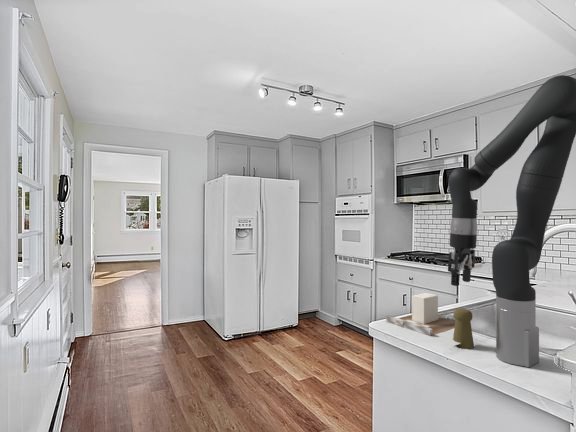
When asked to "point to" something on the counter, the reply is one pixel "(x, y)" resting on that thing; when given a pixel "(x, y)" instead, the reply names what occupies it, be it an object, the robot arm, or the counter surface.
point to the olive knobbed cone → (463, 329)
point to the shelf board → (423, 325)
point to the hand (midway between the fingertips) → (460, 283)
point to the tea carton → (424, 308)
